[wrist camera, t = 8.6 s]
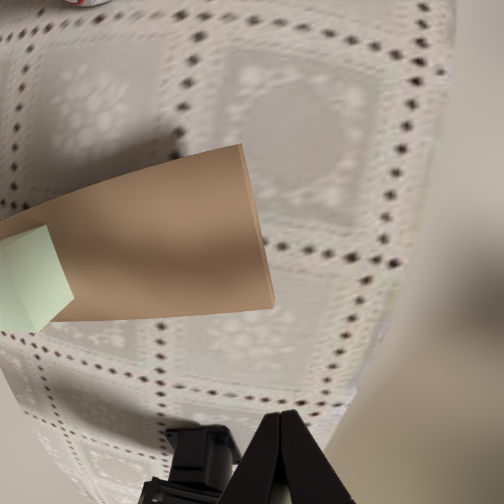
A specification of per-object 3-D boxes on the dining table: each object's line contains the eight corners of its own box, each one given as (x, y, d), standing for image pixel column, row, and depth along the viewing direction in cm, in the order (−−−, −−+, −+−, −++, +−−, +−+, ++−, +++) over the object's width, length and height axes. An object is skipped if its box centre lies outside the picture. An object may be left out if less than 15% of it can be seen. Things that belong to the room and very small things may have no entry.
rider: (74, 298, 18) (37, 332, 14) (31, 301, 19) (-3, 330, 15) (46, 224, 16) (0, 250, 13) (5, 238, 17) (-34, 261, 14)
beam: (274, 298, 17) (271, 319, 15) (30, 315, 21) (15, 328, 19) (241, 143, 14) (232, 146, 12) (-7, 224, 18) (-25, 233, 17)
